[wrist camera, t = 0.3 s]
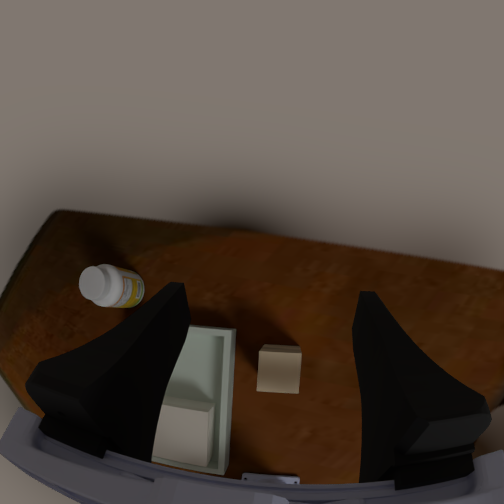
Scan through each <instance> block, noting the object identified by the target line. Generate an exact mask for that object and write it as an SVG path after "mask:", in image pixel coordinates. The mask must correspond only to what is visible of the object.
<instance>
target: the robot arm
mask: <svg viewBox="0 0 504 504" xmlns="http://www.w3.org/2000/svg"><path fill="white" fill-rule="evenodd" d="M190 322H191V316H190V311H189V307H188V302H187V297H186V292H185V286H184V283H177V282H170V283H169V284H167V285H166V286H165V287H164V288H163V289H161V290H160V291H159V292H158V293H157V294H156V295H154V296H153V297H152V298H151V299H150V300H149V301H147V302H146V303H145V304H144V305H143V306H142V307H140V308H139V309H138V310H137V311H135V312H134V313H133V314H132V315H130V316H129V317H128V318H126V319H125V320H124V321H123V322H121V323H120V324H118V325H117V326H116V327H114V328H113V329H111V330H109V331H108V332H106V333H105V334H103V335H101V336H100V337H98V338H96V339H94V340H92V341H90V342H89V343H87V344H85V345H83V346H81V347H79V348H76V349H74V350H72V351H70V352H67V353H65V354H62V355H59V356H56V357H53V358H50V359H47V360H44V361H41V362H39V363H38V365H37V366H36V368H35V369H34V371H33V372H32V374H31V375H30V377H29V379H28V380H27V382H26V383H25V387H26V390H27V392H28V394H29V395H30V396H31V398H32V399H33V400H34V401H35V403H36V404H37V405H38V406H39V407H40V408H41V410H42V411H43V412H44V413H45V416H44V417H43V419H42V418H40V417H39V416H37V415H36V414H34V413H32V412H30V411H27V410H25V409H23V408H21V407H19V408H18V410H17V411H16V413H15V415H14V416H13V418H12V420H11V422H10V423H9V425H8V427H7V429H6V431H5V432H4V434H3V436H2V438H1V440H0V454H1V455H3V456H4V457H5V458H6V459H8V460H9V461H10V462H11V463H13V464H14V465H15V466H17V467H18V468H19V469H21V470H22V471H23V472H25V473H26V474H28V475H29V476H31V477H32V478H34V479H36V480H38V481H39V482H41V483H43V484H45V485H46V486H48V487H50V488H52V489H54V490H55V491H57V492H59V493H61V494H63V495H65V496H67V497H69V498H71V499H73V500H75V501H77V502H79V503H81V504H504V453H503V450H499V451H496V452H492V453H489V454H485V455H482V456H479V457H477V458H475V459H474V460H473V459H472V454H471V453H473V452H474V450H475V447H474V443H473V442H474V441H475V440H476V439H477V438H478V437H479V436H480V435H481V434H482V433H483V432H484V431H485V430H486V429H487V427H488V426H489V425H490V422H491V420H492V418H491V414H490V411H489V407H488V404H487V402H486V399H485V397H484V396H483V395H481V394H479V393H477V392H476V391H474V390H472V389H470V388H469V387H467V386H465V385H464V384H462V383H461V382H459V381H458V380H456V379H455V378H454V377H452V376H451V375H449V374H448V373H447V372H446V371H444V370H443V369H442V368H441V367H439V366H438V365H437V364H436V363H435V362H434V361H432V360H431V359H430V358H429V357H428V356H427V355H426V354H425V353H424V352H423V351H422V350H421V349H420V348H419V347H418V346H417V345H416V344H415V343H414V342H413V341H412V340H411V338H410V337H409V336H408V335H407V334H406V333H405V331H404V330H403V329H402V328H401V326H400V325H399V324H398V322H397V321H396V320H395V319H394V317H393V316H392V315H391V313H390V312H389V311H388V309H387V308H386V306H385V305H384V304H383V302H382V301H381V299H380V298H379V297H378V295H377V294H376V293H375V292H370V291H360V294H359V299H358V304H357V309H356V313H355V318H354V322H353V326H352V336H353V351H354V357H355V363H356V369H357V375H358V381H359V387H360V393H361V403H362V448H361V466H360V477H359V483H354V484H327V485H308V484H299V481H300V478H299V477H298V476H280V475H265V474H254V473H243V474H242V480H236V479H229V478H221V477H215V476H209V475H203V474H197V473H192V472H187V471H182V470H178V469H173V468H169V467H164V466H160V465H156V464H152V463H151V460H152V453H153V446H154V440H155V435H156V430H157V425H158V420H159V416H160V411H161V407H162V403H163V399H164V396H165V392H166V388H167V385H168V383H169V380H170V377H171V375H172V372H173V370H174V368H175V365H176V363H177V360H178V358H179V355H180V353H181V350H182V348H183V345H184V343H185V340H186V337H187V334H188V330H189V326H190ZM244 478H247V479H244ZM295 481H296V482H297V483H294V482H295Z"/></svg>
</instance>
